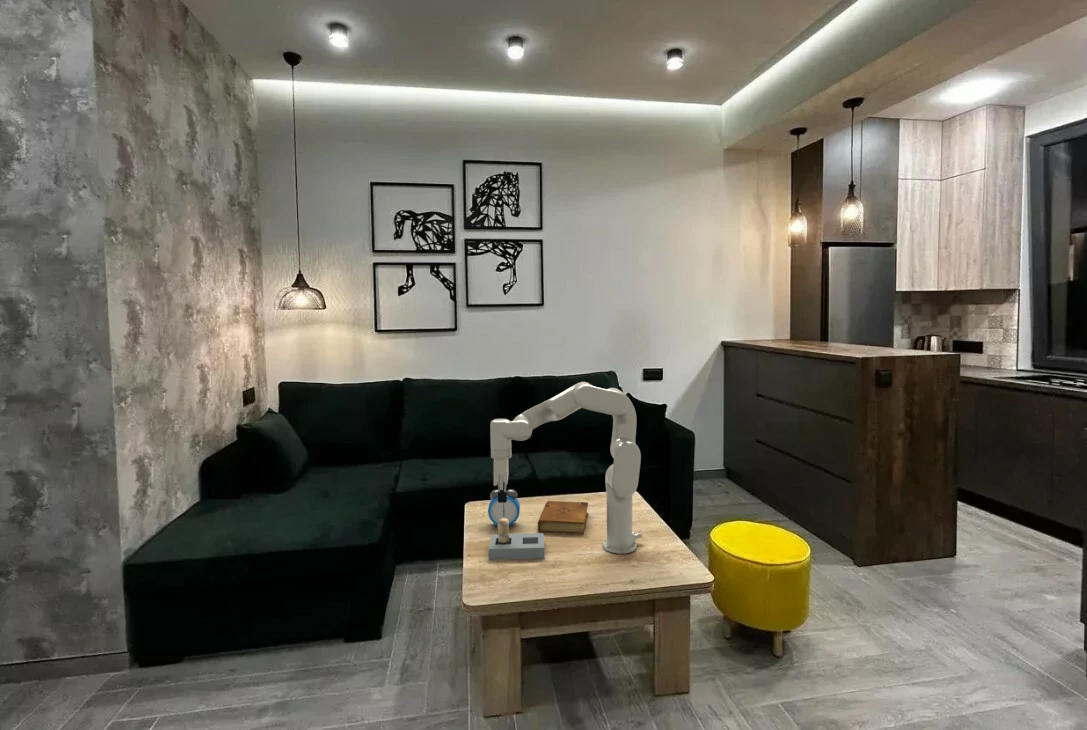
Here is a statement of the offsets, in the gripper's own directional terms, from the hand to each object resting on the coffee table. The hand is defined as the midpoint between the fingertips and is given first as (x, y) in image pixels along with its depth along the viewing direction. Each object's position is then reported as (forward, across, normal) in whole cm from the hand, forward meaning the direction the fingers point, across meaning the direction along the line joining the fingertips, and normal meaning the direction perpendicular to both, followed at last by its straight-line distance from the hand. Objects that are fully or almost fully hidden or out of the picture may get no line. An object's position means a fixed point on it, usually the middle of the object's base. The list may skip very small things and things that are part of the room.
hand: (502, 501), depth 201 cm
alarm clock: (+19, -26, -1) cm, 33 cm away
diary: (+20, -27, +24) cm, 41 cm away
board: (+19, 0, +5) cm, 20 cm away
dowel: (+19, 0, 0) cm, 19 cm away
